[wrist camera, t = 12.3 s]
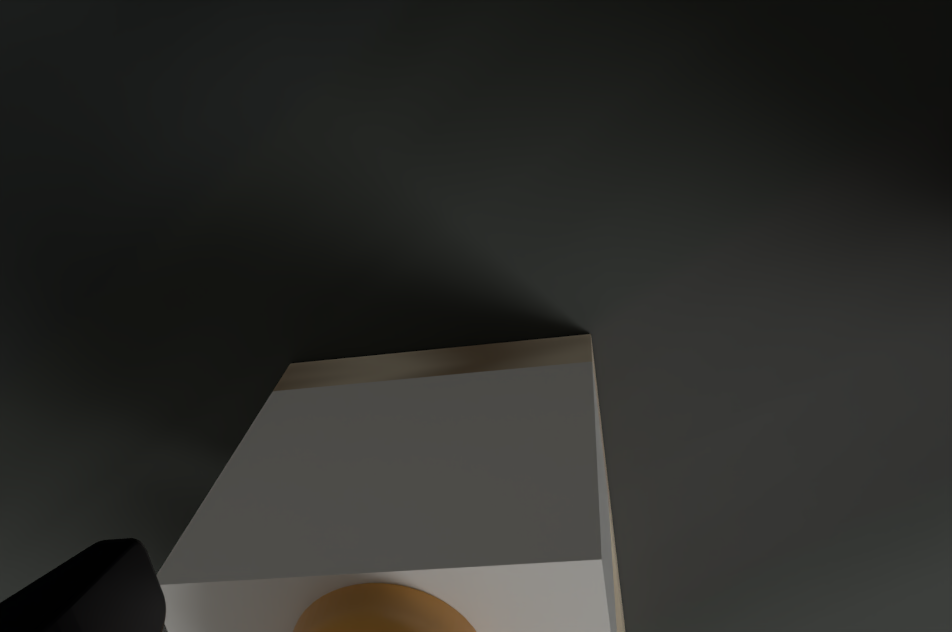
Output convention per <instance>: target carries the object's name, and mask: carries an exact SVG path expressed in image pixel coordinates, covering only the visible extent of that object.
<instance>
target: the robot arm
mask: <svg viewBox="0 0 952 632" xmlns="http://www.w3.org/2000/svg"><path fill="white" fill-rule="evenodd" d="M165 617H166V602H165V597H164V594H163V591H162V589H161V586H160V584H159V581H158V578H157V576H156V573H155V571H154V568H153V565H152V563H151V560H150V558H149V555H148V553H147V550H146V548H145V546H144V545H143V544H142V543H141V542H140V541H139V540H137V539H134V538H127V539H112V540H102V541H99V542H97V543H95V544H93V545H91V546H90V547H88V548H87V549H85V550H84V551H82V552H80V553H79V554H77V555H76V556H74V557H72V558H71V559H69V560H68V561H66V562H64V563H63V564H61V565H60V566H58V567H57V568H55V569H53V570H52V571H50V572H49V573H47V574H45V575H44V576H42V577H41V578H39V579H38V580H36V581H34V582H33V583H31V584H30V585H28V586H26V587H25V588H23V589H22V590H20V591H18V592H17V593H15V594H14V595H12V596H11V597H9V598H7V599H6V600H4V601H3V602H1V603H0V632H162V629H163V626H164V622H165Z"/></svg>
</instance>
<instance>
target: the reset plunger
mask: <svg viewBox="0 0 952 632" xmlns="http://www.w3.org/2000/svg"><path fill="white" fill-rule="evenodd" d="M293 632H476V630H475V629H474V627H473V626H472V625H471V624H470V623H469V622H468V621H467V619H466V618H464V617H463V616H462V615H461V614H460V613H459V612H458V611H457V610H455V609H454V608H452V607H451V606H450V605H448V604H447V603H445V602H443V601H442V600H440V599H438V598H436V597H434V596H432V595H430V594H427V593H425V592H423V591H420V590H416V589H413V588H410V587H406V586H401V585H396V584H386V583H365V584H356V585H351V586H347V587H343V588H340V589H337V590H334V591H332V592H330V593H328V594H326V595H324V596H322V597H320V598H319V599H317V600H316V601H315V602H313V603H312V604H311V605H310V606H309V607H308V608H307V609H306V610H305V611H304V612H303V614H302V615H301V616H300V618H299V619H298V621H297V623H296V625H295V627H294V630H293Z"/></svg>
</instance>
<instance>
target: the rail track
mask: <svg viewBox="0 0 952 632" xmlns="http://www.w3.org/2000/svg"><path fill="white" fill-rule="evenodd" d="M581 362H592V364H593V373H594V381H595V390H596V398H597V407H598V416H599V424H600V433H601V441H602V450H603V458H604V467H605V476H606V484H607V493H608V503H609V518H610V534H611V549H612V565H613V580H614V596H615V611H616V627H617V632H625V625H624V616H623V608H622V599H621V591H620V582H619V573H618V565H617V556H616V547H615V539H614V530H613V521H612V513H611V504H610V495H609V487H608V478H607V469H606V461H605V452H604V443H603V435H602V426H601V417H600V409H599V400H598V391H597V383H596V374H595V365H594V357H593V348H592V339H591V334H585V335H575V336H565V337H555V338H545V339H535V340H524V341H514V342H504V343H494V344H484V345H474V346H463V347H453V348H443V349H433V350H423V351H413V352H402V353H392V354H382V355H372V356H362V357H352V358H341V359H331V360H321V361H311V362H301V363H291V364H290V365H289V366H288V368H287V369H286V371H285V373H284V374H283V376H282V377H281V379H280V381H279V382H278V384H277V385H276V387H275V388H274V390H273V391H281V390H292V389H302V388H313V387H324V386H335V385H345V384H356V383H367V382H377V381H388V380H399V379H409V378H420V377H431V376H442V375H452V374H463V373H474V372H484V371H495V370H506V369H517V368H527V367H538V366H549V365H559V364H570V363H581Z"/></svg>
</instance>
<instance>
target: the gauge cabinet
mask: <svg viewBox="0 0 952 632" xmlns="http://www.w3.org/2000/svg"><path fill="white" fill-rule="evenodd" d="M156 576H157V578H158V581H159V584H160V586H161V589H162V591H163V594H164V597H165V602H166V617H165V622H164V623H165V626H166V628H167V631H168V632H293V630H294V627H295V625H296V623H297V621H298V619H299V618H300V616H301V615H302V614H303V612H304V611H305V610H306V609H307V608H308V607H309V606H310V605H311V604H312V603H313V602H315V601H316V600H317V599H319V598H320V597H322V596H324V595H326V594H328V593H330V592H332V591H334V590H337V589H340V588H343V587H347V586H351V585H356V584H365V583H386V584H396V585H401V586H406V587H410V588H413V589H416V590H420V591H423V592H425V593H427V594H430V595H432V596H434V597H436V598H438V599H440V600H442V601H443V602H445V603H447V604H448V605H450V606H451V607H452V608H454V609H455V610H457V611H458V612H459V613H460V614H461V615H462V616H463V617H464V618H466V619H467V621H468V622H469V623H470V624H471V625H472V626H473V627H474V629H475V630H476V632H617V627H616V611H615V596H614V580H613V565H612V549H611V534H610V518H609V503H608V493H607V484H606V476H605V467H604V458H603V450H602V441H601V433H600V424H599V416H598V407H597V398H596V390H595V381H594V373H593V364H592V362H581V363H570V364H559V365H549V366H538V367H527V368H517V369H506V370H495V371H484V372H474V373H463V374H452V375H442V376H431V377H420V378H409V379H399V380H388V381H377V382H367V383H356V384H345V385H335V386H324V387H313V388H302V389H292V390H281V391H273V392H272V393H271V395H270V396H269V398H268V400H267V401H266V403H265V404H264V406H263V407H262V409H261V411H260V412H259V414H258V415H257V417H256V418H255V420H254V422H253V423H252V425H251V426H250V428H249V430H248V431H247V433H246V434H245V436H244V437H243V439H242V441H241V442H240V444H239V445H238V447H237V448H236V450H235V452H234V453H233V455H232V456H231V458H230V460H229V461H228V463H227V464H226V466H225V467H224V469H223V471H222V472H221V474H220V475H219V477H218V479H217V480H216V482H215V483H214V485H213V486H212V488H211V490H210V491H209V493H208V494H207V496H206V497H205V499H204V501H203V502H202V504H201V505H200V507H199V509H198V510H197V512H196V513H195V515H194V516H193V518H192V520H191V521H190V523H189V524H188V526H187V527H186V529H185V531H184V532H183V534H182V535H181V537H180V539H179V540H178V542H177V543H176V545H175V546H174V548H173V550H172V551H171V553H170V554H169V556H168V558H167V559H166V561H165V562H164V564H163V565H162V567H161V569H160V570H159V572H158V573H157V575H156Z"/></svg>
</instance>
